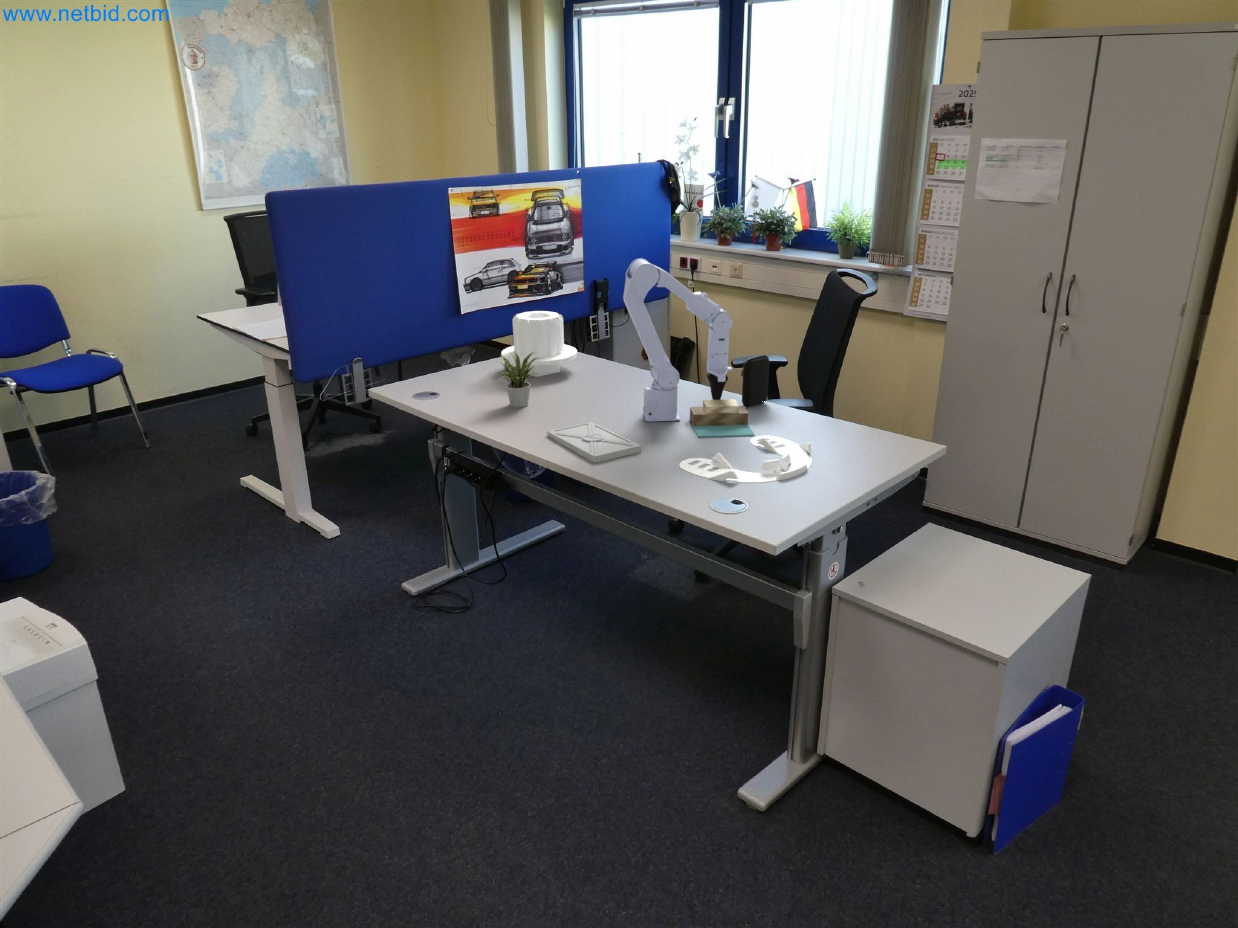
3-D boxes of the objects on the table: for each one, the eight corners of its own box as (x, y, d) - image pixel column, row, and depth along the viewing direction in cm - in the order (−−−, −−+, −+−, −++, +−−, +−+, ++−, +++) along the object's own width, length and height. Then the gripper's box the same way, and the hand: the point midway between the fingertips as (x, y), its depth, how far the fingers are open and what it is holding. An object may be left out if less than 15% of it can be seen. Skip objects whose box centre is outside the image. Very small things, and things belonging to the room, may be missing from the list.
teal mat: (698, 437, 226) (698, 436, 226) (693, 427, 233) (693, 426, 233) (754, 435, 227) (754, 434, 226) (748, 426, 234) (748, 424, 234)
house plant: (551, 398, 259) (549, 345, 253) (543, 412, 246) (541, 357, 240) (505, 397, 260) (502, 344, 254) (494, 411, 248) (491, 356, 242)
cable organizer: (767, 435, 229) (768, 423, 227) (841, 460, 212) (842, 447, 210) (671, 467, 208) (671, 453, 207) (744, 497, 191) (745, 483, 190)
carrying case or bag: (744, 410, 246) (746, 361, 241) (736, 408, 249) (738, 358, 243) (769, 403, 252) (772, 354, 247) (761, 401, 255) (764, 352, 249)
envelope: (591, 428, 235) (547, 438, 228) (591, 420, 234) (547, 430, 227) (641, 452, 216) (594, 464, 209) (641, 444, 216) (594, 455, 209)
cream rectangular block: (706, 413, 233) (706, 406, 232) (702, 407, 239) (703, 400, 238) (739, 412, 234) (739, 405, 233) (734, 406, 239) (735, 399, 238)
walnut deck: (693, 426, 234) (693, 414, 232) (689, 418, 240) (690, 406, 239) (747, 425, 235) (748, 413, 233) (742, 417, 241) (743, 405, 240)
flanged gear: (549, 358, 303) (547, 304, 296) (592, 372, 285) (591, 316, 278) (488, 370, 288) (484, 314, 282) (530, 386, 271) (527, 327, 264)
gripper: (737, 358, 231) (735, 406, 236) (727, 346, 245) (725, 391, 250) (711, 359, 231) (709, 407, 236) (703, 346, 244) (701, 392, 249)
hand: (716, 399), depth 243 cm, fingers closed
